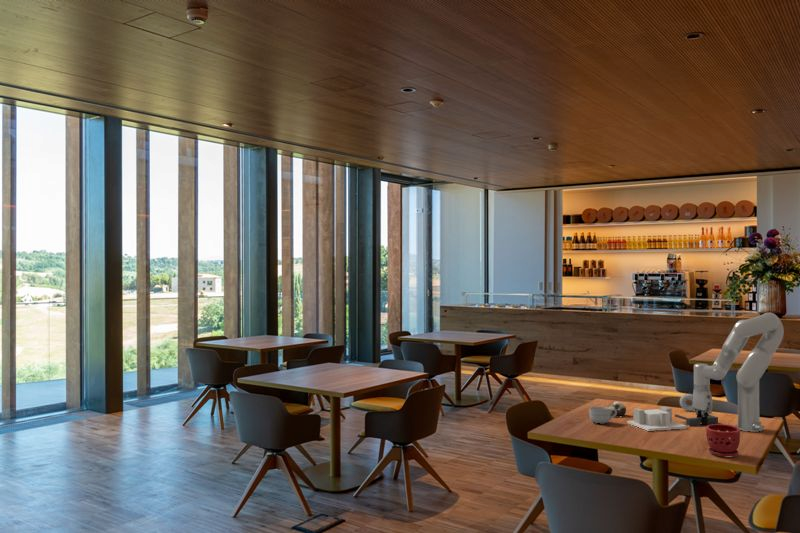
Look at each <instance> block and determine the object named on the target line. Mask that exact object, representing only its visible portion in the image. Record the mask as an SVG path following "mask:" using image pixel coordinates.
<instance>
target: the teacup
mask: <svg viewBox="0 0 800 533" xmlns="http://www.w3.org/2000/svg"><path fill="white" fill-rule="evenodd" d="M588 410H589V419H590V421H592V423H594V422H595V423H594V424H597V423H600V424H601V425H602V424H603V425H604V424H605V423H606V424H607V423H608V422H609V421H611V420H612V419H613V418H616V417H615V416H616V415H617V411H616V410H615V409H610V408H609V407H607V406H591V407H588ZM612 411H615V414H614V415H613V416H610V414H611V412H612ZM600 424H599V425H600Z"/></svg>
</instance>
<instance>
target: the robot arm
mask: <svg viewBox="0 0 800 533" xmlns="http://www.w3.org/2000/svg"><path fill="white" fill-rule="evenodd" d="M784 332H785V331H784V325H783V323H782V320H781V319H780V318H779V317H778V315H776V314H775V313H773V312H765V313H763V314H761V315H758V316H754V317H751V318H747V319H740V320H738V321H736V323H734V325H733V328H732V329H731V331H730V332H729V334H728V336H727V337H726V340H725V341H724V343H723V345H722V347H721V350H720V352H719V353H718V356H717V357H716V359H715V361H714V362H713V364H712V365H709V364H707V363H702V362H700V363H695V364H694V365H693V392H692V394H693V409H694V412H695V415H696V417H701V419H702V422H701V425H706V424H708V419H707V417H708V415H712V413H713V412H712V411H713V397H712V396H713V395H712V392H711V386H710V385H711V383H710V382H711V381H710V380H715V381H720V380H723V379H724V378H725V377H726V375H727V373H728V372H729V370H730V369H731V367H732V365H733V364H734V362H735V360H736V359H737V358H738V356H739V355H740V354H741V352H742V351H743V349H744V347H745V346H746V344H747V342H748V341H749V339H750V338H751V337H754V336H758V335H761V334H762V335H761V337H760V338H759V341H758V342H757V343H756V345H755V346H754V347H753V349H752V350H751V351H750V352H749V355H748V356H747V357H746V359H745V360H744V362H743V363H742V365H741V366H740V368H738V370H737V372H736V376H735V377H736V382H737V424H734V426H735V427H737V428H739V429H740V431H741V430H742V431H741V432H748V431H750V433H759V431H760V432H763V431H764V429H765V425H762V422H761V421H760V379H761V378H762V377H763V375H764V373H765V372H766V370H767V368H769V366H770V364H771V360H772V357H774V355H775V353H776V351H777V350H778V349H779V346H780V344H781V343H782V340H783V338H784V335H785V334H784Z"/></svg>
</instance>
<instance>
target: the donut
mask: <svg viewBox="0 0 800 533" xmlns="http://www.w3.org/2000/svg"><path fill="white" fill-rule="evenodd" d="M687 401H691V404H687ZM679 405H680V407H681V408H682V409H683V410H685V411H687V412H695V410H694V409H693V393H685V394H683V395H682V396H680V398H679Z"/></svg>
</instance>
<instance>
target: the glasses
mask: <svg viewBox="0 0 800 533" xmlns="http://www.w3.org/2000/svg"><path fill="white" fill-rule="evenodd" d="M674 417H675V418H679V419H681V420H685V424H686V425H685V426H688V425H689V427H696V426H697V427H698V425H699V426H702V423H701V422H702V419H701V417H697V416H696V417H685V416H683V415H679V414H676V413H675V414H674ZM707 419H708V424H705V425H707V426H708V425H712V424H719V417H718V416H715V415H712V414H709V415H708V417H707Z"/></svg>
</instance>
